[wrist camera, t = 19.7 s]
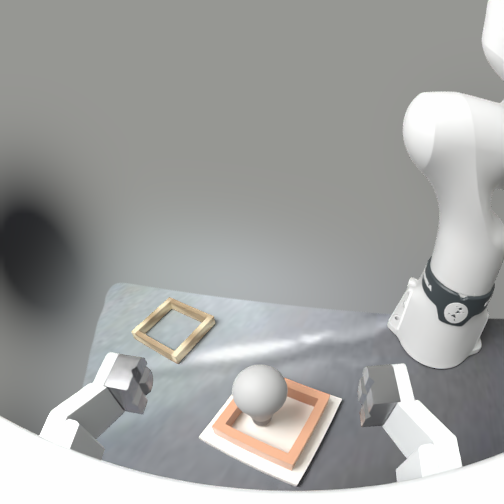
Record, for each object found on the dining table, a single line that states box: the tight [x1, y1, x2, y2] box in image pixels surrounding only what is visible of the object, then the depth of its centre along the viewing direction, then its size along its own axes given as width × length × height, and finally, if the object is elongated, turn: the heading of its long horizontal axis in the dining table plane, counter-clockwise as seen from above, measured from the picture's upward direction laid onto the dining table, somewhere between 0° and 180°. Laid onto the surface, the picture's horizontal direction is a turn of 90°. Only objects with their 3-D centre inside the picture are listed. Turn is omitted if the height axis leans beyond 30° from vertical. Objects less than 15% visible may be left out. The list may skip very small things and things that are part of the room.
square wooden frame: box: [131, 297, 215, 364], centre depth 52 cm, size 10×10×2 cm
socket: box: [199, 378, 342, 487], centre depth 36 cm, size 14×14×4 cm
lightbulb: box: [232, 365, 288, 426], centre depth 34 cm, size 6×6×11 cm
